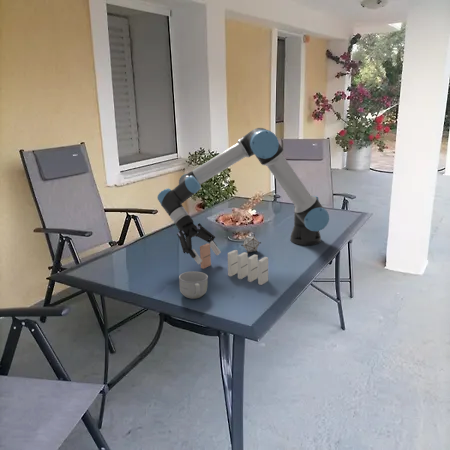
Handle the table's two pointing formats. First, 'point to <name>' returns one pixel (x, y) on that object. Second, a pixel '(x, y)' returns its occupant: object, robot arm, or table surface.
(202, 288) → the teacup
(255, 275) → the domino
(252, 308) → the table surface
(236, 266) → the domino
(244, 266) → the domino
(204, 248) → the domino
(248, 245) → the game die
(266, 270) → the domino
